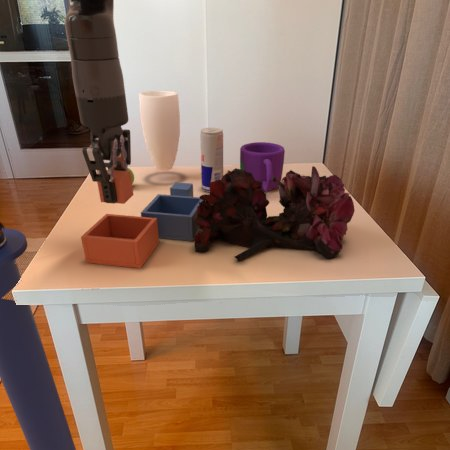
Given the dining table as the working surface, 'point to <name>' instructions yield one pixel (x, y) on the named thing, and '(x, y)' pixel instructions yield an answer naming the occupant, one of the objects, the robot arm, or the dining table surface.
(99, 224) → the terracotta bin
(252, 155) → the mug
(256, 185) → the flower arrangement
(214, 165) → the beverage can
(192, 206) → the blue bin
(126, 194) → the terracotta block
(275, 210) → the dining table surface
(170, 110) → the white vase
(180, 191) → the blue block
